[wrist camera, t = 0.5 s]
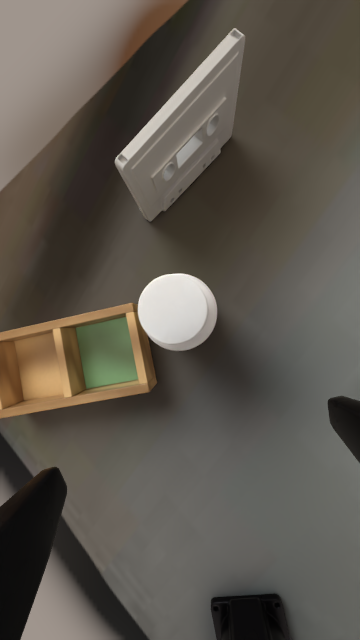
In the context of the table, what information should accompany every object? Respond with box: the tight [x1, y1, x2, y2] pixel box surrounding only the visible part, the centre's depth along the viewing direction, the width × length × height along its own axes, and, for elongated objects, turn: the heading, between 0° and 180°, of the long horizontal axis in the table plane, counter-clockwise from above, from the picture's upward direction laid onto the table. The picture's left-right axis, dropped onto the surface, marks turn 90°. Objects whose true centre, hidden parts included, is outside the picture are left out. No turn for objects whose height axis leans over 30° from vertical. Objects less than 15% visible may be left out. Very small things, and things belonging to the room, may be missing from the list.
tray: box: [0, 303, 157, 418], centre depth 21 cm, size 8×15×3 cm, turn 102°
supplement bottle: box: [138, 274, 217, 351], centre depth 17 cm, size 5×5×10 cm
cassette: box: [115, 28, 245, 221], centre depth 18 cm, size 12×2×8 cm, turn 135°
